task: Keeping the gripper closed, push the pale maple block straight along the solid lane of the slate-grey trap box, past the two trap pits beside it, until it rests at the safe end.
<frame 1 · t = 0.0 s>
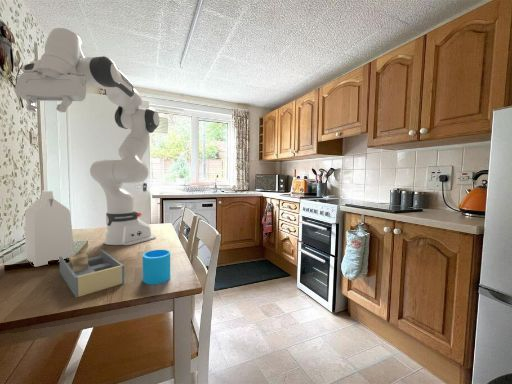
hand: (45, 111, 74), 52 cm above the table, tool tilted 20°, fingers open, 8 cm apart
trap box: (90, 277, 75), on the table
mug: (156, 276, 78), on the table
block: (78, 268, 75), point 3 cm above the table, touching trap box
milk: (50, 258, 91), on the table
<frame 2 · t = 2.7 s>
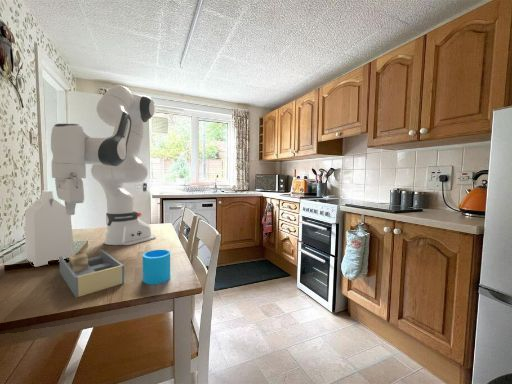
hand: (70, 214, 79), 19 cm above the table, tool pointing down, fingers closed
nothing on the table moved.
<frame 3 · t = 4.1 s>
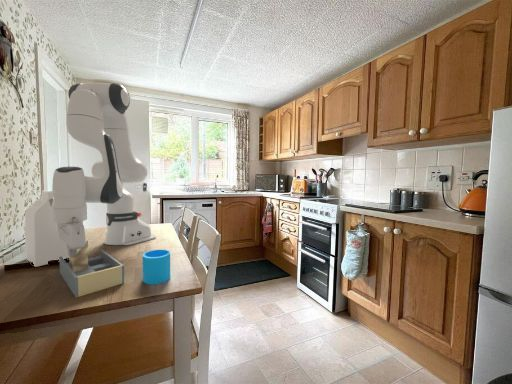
hand: (72, 255, 80), 5 cm above the table, tool pointing down, fingers closed
nothing on the table moved.
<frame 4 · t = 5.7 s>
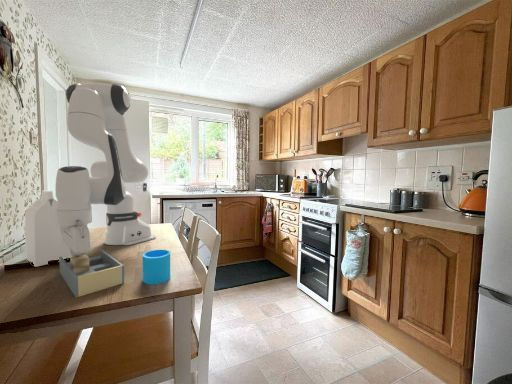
hand: (76, 260, 76), 5 cm above the table, tool pointing down, fingers closed
block: (80, 270, 74), point 3 cm above the table, touching gripper, trap box
everything else where it was.
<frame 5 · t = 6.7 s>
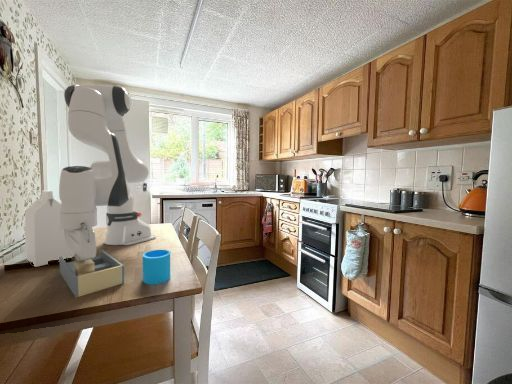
hand: (80, 265, 72), 5 cm above the table, tool pointing down, fingers closed
block: (84, 275, 70), point 3 cm above the table, touching gripper, trap box
everything else where it was.
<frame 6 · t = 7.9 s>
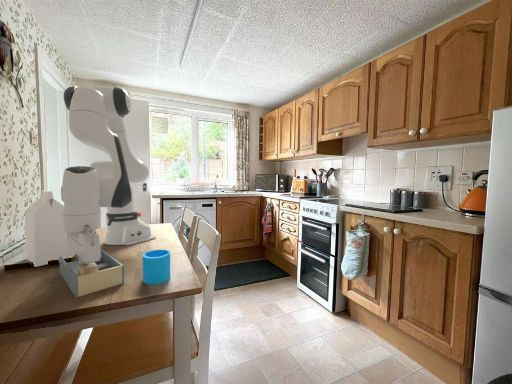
hand: (84, 269, 70), 5 cm above the table, tool pointing down, fingers closed
block: (88, 279, 68), point 3 cm above the table, touching gripper, trap box
everything else where it was.
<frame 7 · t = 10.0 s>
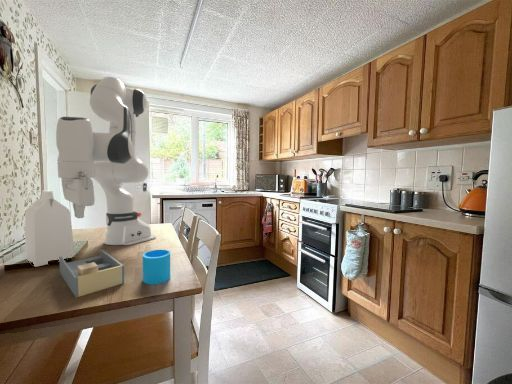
hand: (79, 217, 72), 20 cm above the table, tool pointing down, fingers closed
block: (88, 279, 68), point 3 cm above the table, touching trap box
everything else where it was.
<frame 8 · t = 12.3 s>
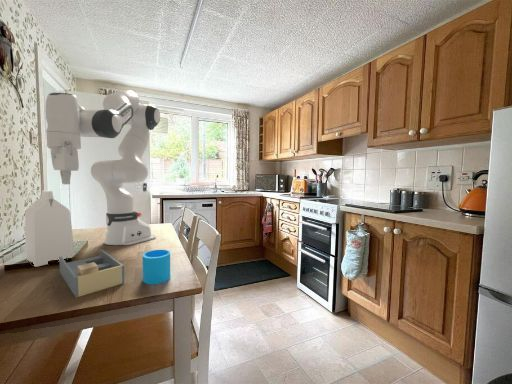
hand: (66, 184, 80), 29 cm above the table, tool pointing down, fingers closed
nothing on the table moved.
at the end: block 1.1 cm from the target spot, point 3.0 cm above the table; block tilted 0° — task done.
